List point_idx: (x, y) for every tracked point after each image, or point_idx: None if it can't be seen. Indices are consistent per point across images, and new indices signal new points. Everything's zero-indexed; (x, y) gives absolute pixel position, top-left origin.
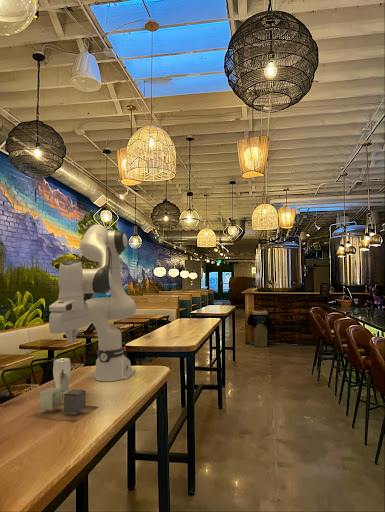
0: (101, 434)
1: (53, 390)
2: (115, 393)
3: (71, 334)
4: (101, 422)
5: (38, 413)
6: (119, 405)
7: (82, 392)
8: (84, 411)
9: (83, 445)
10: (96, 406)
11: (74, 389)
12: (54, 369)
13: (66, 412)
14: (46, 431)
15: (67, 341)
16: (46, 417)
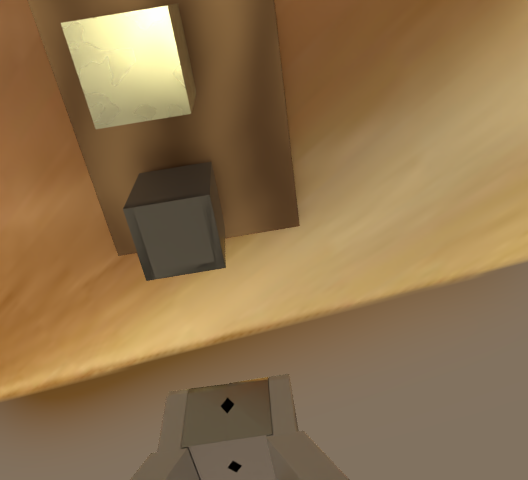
0: (118, 365)
1: (132, 95)
2: (519, 141)
3: (286, 463)
4: (192, 309)
5: (92, 7)
6: (365, 260)
7: (197, 270)
8: (225, 209)
9: (34, 371)
10: (297, 213)
11: (210, 204)
12: None
13: (178, 143)
14: (16, 197)
15: (166, 400)
16: (82, 102)
